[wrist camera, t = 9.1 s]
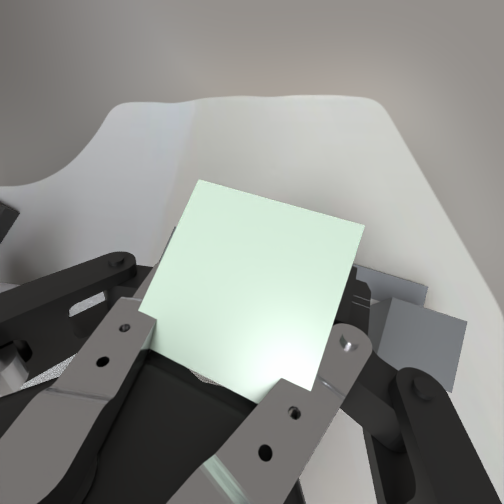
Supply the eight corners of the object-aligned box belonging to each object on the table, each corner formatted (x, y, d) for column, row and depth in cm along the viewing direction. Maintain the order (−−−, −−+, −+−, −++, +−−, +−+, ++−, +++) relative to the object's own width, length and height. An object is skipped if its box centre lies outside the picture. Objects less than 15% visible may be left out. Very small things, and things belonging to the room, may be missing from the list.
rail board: (184, 318, 31) (131, 315, 22) (222, 226, 33) (189, 188, 24) (393, 409, 25) (442, 460, 16) (424, 288, 27) (483, 268, 18)
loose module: (233, 329, 16) (126, 336, 7) (261, 257, 17) (201, 173, 7) (305, 361, 15) (299, 425, 5) (331, 282, 16) (367, 217, 6)
